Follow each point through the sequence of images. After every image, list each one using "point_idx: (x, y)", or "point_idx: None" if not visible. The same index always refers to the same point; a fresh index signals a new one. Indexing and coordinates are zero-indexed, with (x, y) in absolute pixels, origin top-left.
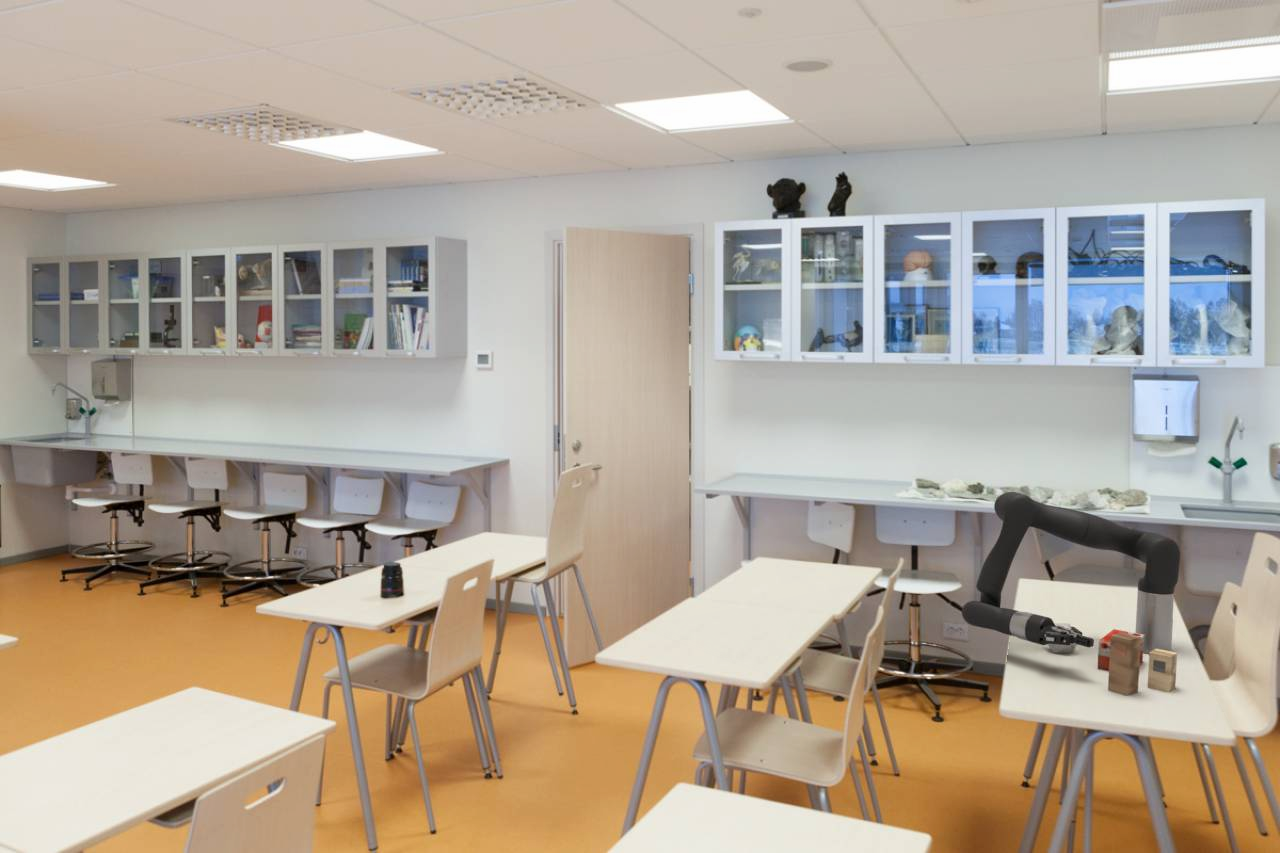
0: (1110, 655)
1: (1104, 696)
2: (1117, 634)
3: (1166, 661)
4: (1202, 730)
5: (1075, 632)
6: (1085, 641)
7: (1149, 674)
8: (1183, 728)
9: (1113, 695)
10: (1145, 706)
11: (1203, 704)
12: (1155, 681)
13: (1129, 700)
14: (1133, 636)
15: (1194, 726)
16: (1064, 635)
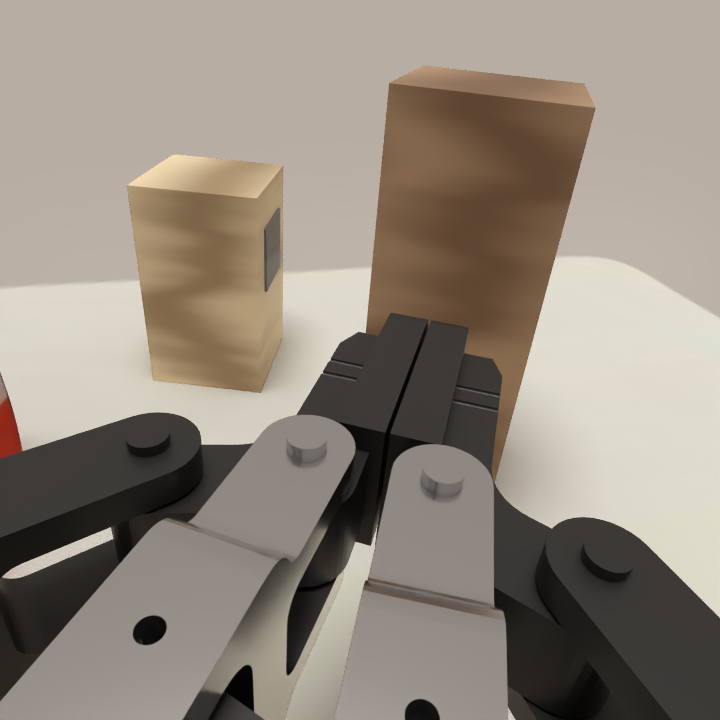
0: (542, 299)
1: (629, 516)
2: (507, 94)
3: (278, 201)
4: (631, 276)
5: (45, 549)
6: (496, 386)
7: (259, 325)
8: (674, 300)
9: (558, 484)
10: (575, 376)
11: (361, 277)
12: (269, 336)
13: (560, 423)
14: (456, 73)
15: (620, 286)
16: (701, 637)
